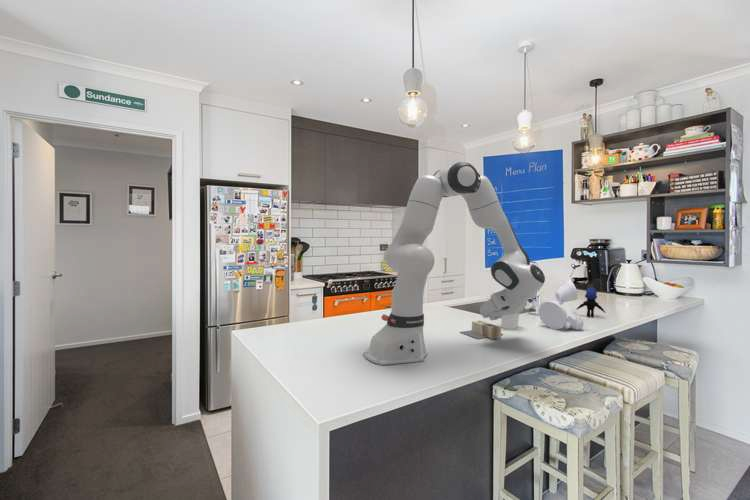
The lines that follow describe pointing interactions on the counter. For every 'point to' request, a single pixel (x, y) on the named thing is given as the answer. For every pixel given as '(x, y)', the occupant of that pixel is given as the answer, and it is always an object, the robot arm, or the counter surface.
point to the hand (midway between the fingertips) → (492, 318)
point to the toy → (591, 302)
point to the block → (486, 329)
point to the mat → (473, 334)
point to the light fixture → (561, 309)
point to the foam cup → (510, 321)
